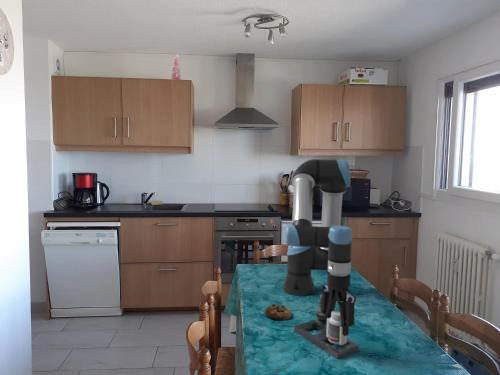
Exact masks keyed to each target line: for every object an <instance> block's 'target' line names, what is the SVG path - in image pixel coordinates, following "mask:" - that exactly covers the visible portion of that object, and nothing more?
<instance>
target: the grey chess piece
mask: <svg viewBox="0 0 500 375" xmlns="http://www.w3.org/2000/svg"><path fill="white" fill-rule="evenodd" d="M322 295H323V293H321V294H320V295H319V301H318V309H317V310H315V312H314V313H315V315H316V319H315V321H317V322H319V323H320V324H322V325H324V326H326V317H325V314H322V312H321V311H322Z"/></svg>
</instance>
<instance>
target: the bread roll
mask: <svg viewBox="0 0 500 375" xmlns="http://www.w3.org/2000/svg"><path fill="white" fill-rule="evenodd" d="M291 311H292V310H291V309H290V308H289V307H286V306H284V305H280V304H276V303H273V304H271V305H269V306H267V307H266V308H265V309H264V315H265V316H266V318H268V319H270V320H272V321H273V320H274V321H283V320H286V321H287V320H289V319H291V318H292V312H291Z"/></svg>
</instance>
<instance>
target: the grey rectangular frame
mask: <svg viewBox="0 0 500 375" xmlns="http://www.w3.org/2000/svg"><path fill="white" fill-rule="evenodd" d="M313 329H316V330H317V331H319V333H317V334H312V333H311V332H309V331H311V330H313ZM326 330H327V326H326V325H323V324H320V323H319V322H317V321H316V319H315V320H312V321H307V322H303V323H300V324H297V325H294V326H293V332H294V333H296V334H298V335H299V336H300V337H302V338H303V339H306V341H308V342H309V343H312V344H313V345H315V346H316V347H318V348H320V349H321V350H322V351H324V352H325V353H327V354H328V355H330V356H332V357H333V358H334V359H336V360H338V359H341V358H344V357H346V356H350V355H352V354H355V353H358V352H359V351H360V345H359V344H357V343H356V342H354V341H353V340H351V339H350V338H349V339H348V338H347V343H346V344H343V345H342V347H338V348H335V347H333V346H332V345H331V344H332V343H331V342H330V341H329V340H328V337H326Z"/></svg>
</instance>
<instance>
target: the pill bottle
mask: <svg viewBox="0 0 500 375" xmlns="http://www.w3.org/2000/svg"><path fill="white" fill-rule="evenodd" d="M340 325H342V322H341V315H340V310H334V311H332V312H331V318H330V319H329V330H328V340H329V341H330V342H331V343H330V344H334V345H340V344H339V336H340Z"/></svg>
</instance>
